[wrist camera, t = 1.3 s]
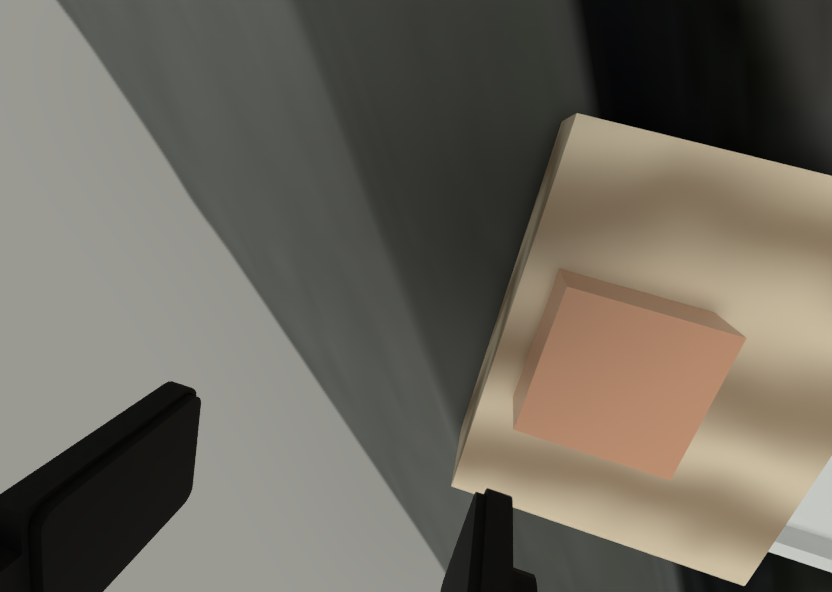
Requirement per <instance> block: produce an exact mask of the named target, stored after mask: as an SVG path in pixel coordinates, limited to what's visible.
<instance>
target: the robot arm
mask: <svg viewBox="0 0 832 592" xmlns="http://www.w3.org/2000/svg"><path fill="white" fill-rule="evenodd" d="M200 407H201V400H200V398H199V397H196V391H195V390H194V389H193V388H190V387H187V386H184V385H181V384H178V383H175V382H172V381H171V382H167V383H165V384H163V385H162V386H160V387H159V388H158V389H156V390H155V391H153V392H152V393H150V394H149V395H147V396H146V397H144V398H143V399H141V400H140V401H138V402H137V403H135V404H134V405H132V406H131V407H129V408H128V409H126V410H125V411H123V412H122V413H121V414H119V415H117V416H116V417H115V418H113V419H111V420H110V421H108V422H107V423H106V424H104V425H103V426H101V427H100V428H98V429H97V430H95V431H94V432H92V433H91V434H89V435H88V436H86V437H85V438H83V439H82V440H80V441H79V442H77V443H76V444H74V445H73V446H71V447H70V448H68V449H67V450H66V451H64V452H62V453H61V454H60V455H58V456H56V457H55V458H53V459H52V460H51V461H49V462H48V463H46V464H45V465H43V466H42V467H40V468H39V469H37V470H36V471H34V472H33V473H31V474H30V475H28V476H27V477H25V478H24V479H22V480H21V481H19V482H18V483H16V484H15V485H13V486H12V487H11V488H9V489H7V490H6V491H4V492H3V493H2V494H0V592H103V591H104V590H105V589H106V588H107V587H108V586H109V585H110V583H111V582H112V581H113V580H114V579H115V578H116V577H117V576H118V575H119V574H120V573H121V572H122V570H123V569H124V568H125V567H126V566H127V565H128V564H129V563H130V562H131V561H132V560H133V559H134V557H135V556H136V555H137V554H138V553H139V552H140V551H141V550H142V549H143V548H144V547H145V546H146V545H147V543H148V542H149V541H150V540H151V539H152V538H153V537H154V536H155V535H156V534H157V533H158V531H159V530H160V529H161V528H162V527H163V526H164V525H165V524H166V523H167V522H168V521H169V520H170V518H171V517H172V516H173V515H174V514H175V513H176V512H177V511H178V510H179V509H180V508H181V507H182V506H183V504H184V503H185V502H186V501H187V499H188V497H189V495H190V493H191V490H192V485H193V476H194V466H195V456H196V447H197V437H198V425H199V416H200ZM441 592H537V583H536V578H535V576H534V575H533V574H530V573H528V572H525V571H522V570H519V569H516V568H513V500H512V496H509V495H506V494H503V493H500V492H497V491H494V490H492V489H489V488H487V489H486V490H485V492H484V494H481V493H479V492H475V494H474V497H473V499H472V502H471V505H470V508H469V511H468V513H467V516H466V519H465V522H464V524H463V527H462V530H461V533H460V536H459V538H458V541H457V544H456V547H455V549H454V552H453V555H452V558H451V560H450V563H449V566H448V569H447V572H446V574H445V577H444V580H443V584H442V587H441Z"/></svg>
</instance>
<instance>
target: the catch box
mask: <svg viewBox="0 0 832 592" xmlns="http://www.w3.org/2000/svg"><path fill="white" fill-rule="evenodd" d="M768 552H771V553H774V554H777V555H780V556H783V557H786V558H789V559H792V560H795V561H798V562H801V563H804V564H807V565H810V566H814V567H817V568H820V569H823V570H826V571H829V572H832V456H831V458H830V459H829V461H828V462H827V464H826V465H825V467H824V468H823V470H822V471H821V473H820V474H819V476H818V477H817V479H816V480H815V482H814V483H813V485H812V486H811V488H810V489H809V491H808V492H807V494H806V495H805V497H804V498H803V500H802V501H801V503H800V504H799V506H798V507H797V509H796V510H795V512H794V513H793V515H792V516H791V518H790V519H789V521H788V522H787V524H786V525H785V527H784V528H783V530H782V531H781V533H780V534H779V536H778V537H777V539H776V540H775V542H774V543H773V545H772V546H771V548H770V549H769V551H768Z"/></svg>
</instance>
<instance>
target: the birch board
mask: <svg viewBox="0 0 832 592" xmlns="http://www.w3.org/2000/svg"><path fill="white" fill-rule="evenodd" d="M559 269H563V270H566V271H570V272H573V273H577V274H580V275H584V276H587V277H591V278H595V279H598V280H602V281H605V282H609V283H612V284H616V285H619V286H623V287H626V288H630V289H633V290H637V291H640V292H644V293H648V294H651V295H655V296H658V297H662V298H665V299H669V300H672V301H676V302H679V303H683V304H686V305H690V306H693V307H697V308H701V309H704V310H708V311H711V312H715V313H716V314H717V315H718V316H720V317H721V318H722V319H724V320H725V321H726V322H727V323H729V324H730V325H731V326H732V327H734V328H735V329H736V330H737V331H739V332H740V333H741V334H742V335H744V336H745V337H746V338H747V339H746V340H745V342H744V344H743V346H742V348H741V350H740V352H739V353H738V355H737V357H736V359H735V361H734V363H733V365H732V367H731V368H730V370H729V372H728V374H727V376H726V378H725V380H724V381H723V383H722V385H721V387H720V389H719V391H718V393H717V395H716V396H715V398H714V400H713V402H712V404H711V406H710V408H709V410H708V411H707V413H706V415H705V417H704V419H703V421H702V423H701V424H700V426H699V428H698V430H697V432H696V434H695V436H694V438H693V439H692V441H691V443H690V445H689V447H688V449H687V451H686V452H685V454H684V456H683V458H682V460H681V462H680V464H679V466H678V467H677V469H676V471H675V473H674V475H673V477H672V479H671V480H668V479H664V478H661V477H658V476H655V475H652V474H649V473H646V472H643V471H640V470H637V469H633V468H630V467H627V466H624V465H621V464H618V463H615V462H612V461H609V460H606V459H602V458H599V457H596V456H593V455H590V454H587V453H584V452H581V451H578V450H575V449H572V448H568V447H565V446H562V445H559V444H556V443H553V442H550V441H547V440H544V439H541V438H537V437H534V436H531V435H528V434H525V433H522V432H519V431H516V430H513V395H514V392H515V389H516V387H517V384H518V381H519V378H520V376H521V373H522V370H523V367H524V365H525V362H526V359H527V356H528V354H529V351H530V348H531V345H532V343H533V340H534V337H535V334H536V332H537V329H538V326H539V323H540V321H541V318H542V315H543V312H544V310H545V307H546V304H547V301H548V299H549V296H550V293H551V290H552V288H553V285H554V282H555V279H556V277H557V274H558V271H559ZM831 456H832V176H830V175H826V174H822V173H818V172H814V171H810V170H805V169H801V168H797V167H793V166H789V165H785V164H781V163H777V162H773V161H769V160H765V159H761V158H757V157H753V156H749V155H745V154H741V153H737V152H733V151H729V150H724V149H720V148H716V147H712V146H708V145H704V144H700V143H696V142H692V141H688V140H684V139H680V138H676V137H672V136H668V135H664V134H660V133H656V132H652V131H647V130H643V129H639V128H635V127H631V126H627V125H623V124H619V123H615V122H611V121H607V120H603V119H599V118H595V117H591V116H587V115H583V114H579V113H576V114H574V115H573V116H571V117H569V118H567V119H565V120H564V121H562V123H561V126H560V129H559V132H558V135H557V138H556V141H555V144H554V147H553V150H552V153H551V156H550V159H549V162H548V165H547V168H546V171H545V174H544V178H543V181H542V184H541V187H540V190H539V193H538V196H537V199H536V202H535V205H534V208H533V211H532V214H531V217H530V220H529V223H528V226H527V229H526V232H525V235H524V238H523V241H522V245H521V248H520V251H519V254H518V257H517V260H516V263H515V266H514V269H513V272H512V275H511V278H510V281H509V284H508V287H507V290H506V293H505V296H504V299H503V302H502V305H501V308H500V312H499V315H498V318H497V321H496V324H495V327H494V330H493V333H492V336H491V339H490V342H489V345H488V348H487V351H486V354H485V357H484V360H483V363H482V366H481V369H480V372H479V375H478V379H477V382H476V385H475V388H474V391H473V394H472V397H471V400H470V403H469V406H468V409H467V412H466V415H465V418H464V421H463V424H462V428H461V433H460V439H459V445H458V451H457V456H456V462H455V468H454V473H453V479H452V485H451V486H452V487H455V488H458V489H461V490H464V491H467V492H470V493H473V494H475V492H479V493H481V494H484V492H485V490H486V489H487V488H489V489H492V490H494V491H497V492H500V493H503V494H506V495H509V496H512V500H513V507H514V508H517V509H520V510H523V511H526V512H529V513H531V514H534V515H537V516H540V517H543V518H546V519H549V520H552V521H555V522H558V523H561V524H564V525H567V526H570V527H573V528H576V529H578V530H581V531H584V532H587V533H590V534H593V535H596V536H599V537H602V538H605V539H608V540H611V541H614V542H617V543H620V544H623V545H625V546H628V547H631V548H634V549H637V550H640V551H643V552H646V553H649V554H652V555H655V556H658V557H661V558H664V559H667V560H670V561H672V562H675V563H678V564H681V565H684V566H687V567H690V568H693V569H696V570H699V571H702V572H705V573H708V574H711V575H714V576H717V577H719V578H722V579H725V580H728V581H731V582H734V583H737V584H740V585H743V586H745V585H746V584H747V582H748V581H749V579H750V578H751V576H752V575H753V573H754V572H755V570H756V569H757V567H758V566H759V564H760V563H761V561H762V560H763V558H764V557H765V555H766V554H767V552H768V551H769V549H770V548H771V546H772V545H773V543H774V542H775V540H776V539H777V537H778V536H779V534H780V533H781V531H782V530H783V528H784V527H785V525H786V524H787V522H788V521H789V519H790V518H791V516H792V515H793V513H794V512H795V510H796V509H797V507H798V506H799V504H800V503H801V501H802V500H803V498H804V497H805V495H806V494H807V492H808V491H809V489H810V488H811V486H812V485H813V483H814V482H815V480H816V479H817V477H818V476H819V474H820V473H821V471H822V470H823V468H824V467H825V465H826V464H827V462H828V461H829V459H830V458H831Z"/></svg>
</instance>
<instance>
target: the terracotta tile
mask: <svg viewBox="0 0 832 592" xmlns="http://www.w3.org/2000/svg"><path fill="white" fill-rule="evenodd" d="M746 339H747V338H746V337H745V336H744V335H742V334H741V333H740V332H739V331H737V330H736V329H735V328H734V327H732V326H731V325H730V324H729V323H727V322H726V321H725V320H724V319H722V318H721V317H720V316H718V315H717V314H716V313H715V312H711V311H708V310H704V309H701V308H697V307H693V306H690V305H686V304H683V303H679V302H676V301H672V300H669V299H665V298H662V297H658V296H655V295H651V294H648V293H644V292H640V291H637V290H633V289H630V288H626V287H623V286H619V285H616V284H612V283H609V282H605V281H602V280H598V279H595V278H591V277H587V276H584V275H580V274H577V273H573V272H570V271H566V270H563V269H559V271H558V274H557V277H556V279H555V282H554V285H553V288H552V290H551V293H550V296H549V299H548V301H547V304H546V307H545V310H544V312H543V315H542V318H541V321H540V323H539V326H538V329H537V332H536V334H535V337H534V340H533V343H532V345H531V348H530V351H529V354H528V356H527V359H526V362H525V365H524V367H523V370H522V373H521V376H520V378H519V381H518V384H517V387H516V389H515V392H514V395H513V430H516V431H519V432H522V433H525V434H528V435H531V436H534V437H537V438H541V439H544V440H547V441H550V442H553V443H556V444H559V445H562V446H565V447H568V448H572V449H575V450H578V451H581V452H584V453H587V454H590V455H593V456H596V457H599V458H602V459H606V460H609V461H612V462H615V463H618V464H621V465H624V466H627V467H630V468H633V469H637V470H640V471H643V472H646V473H649V474H652V475H655V476H658V477H661V478H664V479H668V480H671V479H672V477H673V475H674V473H675V471H676V469H677V467H678V466H679V464H680V462H681V460H682V458H683V456H684V454H685V452H686V451H687V449H688V447H689V445H690V443H691V441H692V439H693V438H694V436H695V434H696V432H697V430H698V428H699V426H700V424H701V423H702V421H703V419H704V417H705V415H706V413H707V411H708V410H709V408H710V406H711V404H712V402H713V400H714V398H715V396H716V395H717V393H718V391H719V389H720V387H721V385H722V383H723V381H724V380H725V378H726V376H727V374H728V372H729V370H730V368H731V367H732V365H733V363H734V361H735V359H736V357H737V355H738V353H739V352H740V350H741V348H742V346H743V344H744V342H745V340H746Z"/></svg>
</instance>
